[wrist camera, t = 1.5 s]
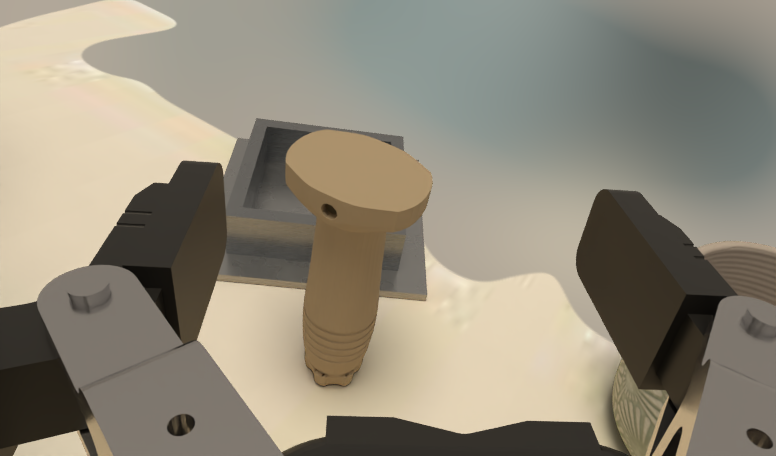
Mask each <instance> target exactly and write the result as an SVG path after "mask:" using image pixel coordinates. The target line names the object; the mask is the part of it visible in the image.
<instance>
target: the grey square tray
mask: <svg viewBox="0 0 776 456" xmlns="http://www.w3.org/2000/svg"><path fill="white" fill-rule="evenodd" d="M326 129H327V130H335V131H343V132H350V133H356V134H361V135H366V136H369V137H372V138H375V139H377V140H380V141H382V142H385V143H387V144H389V145H392V146H394V147H396V148H399V149H401V150H403V151H404V147H403V137H400V136H393V135H384V134H377V133H369V132H361V131H353V130H345V129H337V128H329V127H321V126H313V125H305V124H298V123H290V122H282V121H274V120H265V119H258V118H257V119H256V121H255V125H254V128H253V130H252V133H251V136H250V139H241V138H238V139H237V142H236V144H235V147H234V150H233V153H232V155H231V158H230V161H229V164H228V166H227V169H226V172H225V175H224V192H225V206H226V221H227V242H226V250H225V255H224V259H223V262H222V265H221V268H220V271H219V274H218V277H217V280H219V281H229V282H239V283H250V284H260V285H270V286H280V287H290V288H300V289H306V285H307V280H308V274H309V268H310V262H311V256H312V248H313V241H314V234H315V227H316V216H315V215H314V214H312V213H311V212H310V211H309V210H308V209H307V208H306V207H305V206H304V205H303V204H302V203H301V202H300V201H299V200H298V198H297V197H296V196H295V195H294V194H293V192H292V191H291V190H290V188H289V187H288V186H287V184H286V180H285V169H286V154H287V151H288V150H289V148H290V147H291V146H292V145H293V144H294V143H295V142H296V141H297V140H299V139H300V138H302V137H303V136H305V135H307V134H309V133H312V132H316V131H320V130H326ZM417 161H418V162H419V160H417ZM379 296H382V297H392V298H402V299H412V300H422V301H426V297H427V286H426V270H425V254H424V239H423V223H422V215H421V217H420V218H419V219H418V220H417V221H416V222H415V223H414V224H413V225H411V226H410V227H408V228H406V229H403V230H401V231H397V232H394V233H389V232H386V240H385V248H384V255H383V263H382V271H381V281H380V290H379Z"/></svg>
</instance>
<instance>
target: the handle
mask: <svg viewBox="0 0 776 456" xmlns="http://www.w3.org/2000/svg"><path fill="white" fill-rule="evenodd" d="M285 180H286V184H287V186H288V187H289V188H290V190H291V191H292V192H293V194H294V195H295V196H296V197H297V198H298V200H299V201H300V202H301V203H302V204H303V205H304V206H305V207H306V208H307V209H308V210H309V211H310V212H311V213H312V214H314V215H315V216H316V227H315V234H314V241H313V248H312V256H311V262H310V268H309V274H308V280H307V285H306V291H305V297H304V307H303V338H304V346H305V362H306V366H307V367H308V368H310V369H311V370H312V372H313V374H314V379H315V382H316V383H318V384H319V385H322V386H325V385H328V384H339V385H342V386H345V385H347V384H349V383H350V382H351V380H352V377H353V374H354V372H356V371H358V370H359V368H360V366H361V364H362V361H363V357H364V355H365V353H366V350H367V348H368V345H369V342H370V339H371V336H372V333H373V330H374V326H375V320H376V316H377V310H378V300H379V290H380V281H381V271H382V263H383V255H384V248H385V240H386V232H389V233H394V232H397V231H401V230H403V229H406V228H408V227H410V226H411V225H413V224H414V223H415V222H416V221H417V220H418V219H419V218H420V217H421V215H422V214H423V212H424V210H425V209H426V206H427V203H428V199H429V195H430V192H431V188H432V184H433V183H432V175H431V172H429V171H428V170H427V169H426V168H425V167H424V166H422V165H421V164H420V163H419V162H418V161H417V160H415V159H414V158H413V157H411V156H410V155H409V154H407V153H406V152H404V151H403V150H401V149H399V148H396V147H394V146H392V145H389V144H387V143H385V142H382V141H380V140H377V139H375V138H372V137H369V136H366V135H361V134H356V133H350V132H343V131H335V130H327V129H326V130H320V131H316V132H312V133H309V134H307V135H305V136H303V137H302V138H300V139H299V140H297V141H296V142H295V143H294V144H293V145H292V146H291V147H290V148H289V150H288V151H287V154H286V169H285Z"/></svg>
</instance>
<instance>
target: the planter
mask: <svg viewBox="0 0 776 456" xmlns="http://www.w3.org/2000/svg"><path fill="white" fill-rule="evenodd" d="M698 250H699V251H700V252H701V253H702V254H703V255H704V256H705V257H704V260H708V261H709V262H710V263H711V265H712V266H713V267H714V268H715V269H716V270H717V271H718V273H719V274H720V275H721V276H722V277H723V278H724V280H725V281H726V282H727V283H728V284H729V285H730V286H731V288H732V289H733V290H734V291H735V292H736V293H737V294H738V296H746V297H751V298H755V299H759V300H762V301H765V302H767V303H769V304H772V305H774V306H776V248H774V247H771V246H767V245H762V244H757V243H750V242H740V241H723V242H715V243H710V244H707V245H703V246H701V247H698ZM668 396H669V395H668V394H667V392H666V390H643V389H638V387H637V385H636V383H635V382H634V380H633V378H632V376H631V374H630V372H629V370H628V368H627V366H626V365H625V363H624V361H623V359H622V360H621V362H620V365H619V367H618V370H617V373H616V376H615V380H614V385H613V393H612V401H613V412H614V417H615V421H616V425H617V428H618V430H619V433H620V435H621V438H622V440H623V442H624V444H625V446H626V448H627V449H628V451H629V453H630V454H631V456H645V455H646V452H647V449H648V446H649V444H650V441H651V438H652V435H653V432H654V429H655V426H656V423H657V420H658V417H659V414H660V411H661V409H662V407H663V405H664V403H665V401H666V399H667V397H668Z"/></svg>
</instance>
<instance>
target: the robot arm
mask: <svg viewBox="0 0 776 456" xmlns="http://www.w3.org/2000/svg"><path fill="white" fill-rule="evenodd" d="M226 242H227V221H226V206H225V192H224V177H223V169H222V166H221V164H220V163H211V162H196V161H182V162H181V163H180V165H179V167H178V168H177V170H176V172H175V174H174V175H173V177H172V179H171V181H170V182H169V184H166V183H153V184H151V185H150V186H148V187H147V188H145V189H144V190H142V191H141V192H139V193H137V194H136V195H135V196H134V197H133V199H132V200H131V202H130V203H129V205H128V207H127V208H126V210H125V213H123V214H122V216H121V217H120V219H119V220H118V222H117V226H114V228H113V230H112V231H111V233H110V234H109V236H108V237H107V239H106V240H105V242H104V243H103V245H102V246H101V248H100V250H99V251H98V253H97V254H96V256H95V257H94V259H93V260H92V262H91V263H90V265H89V266H86V267H82V268H78V269H74V270H72V271H69V272H66V273H64V274H62V275H60V276H58V277H57V278H55V279H53V280H52V281H51V282H50V283H48V284H47V285H46V286H45V287H44V288H43V289H42V291H41V292H40V294H39V296H38V299H37V301H36V302H33V303H28V304H23V305H17V306H11V307H4V308H0V456H13V454H14V452H15V450H16V448H17V446H18V445H19V444H23V443H27V442H32V441H36V440H40V439H44V438H48V437H53V436H57V435H61V434H65V433H69V432H73V431H77V433H78V435H79V437H80V440H81V442H82V444H83V447H84V449H85V451H86V453H87V456H629V455H627V454H625V453H622V452H620V451H617V450H614V449H612V448H609V447H606V446H602V445H599V443H598V440H597V438H596V436H595V433H594V431H593V428H592V426H591V423H589V422H550V421H525V422H520V423H516V424H511V425H507V426H502V427H498V428H493V429H489V430H484V431H480V432H475V433H470V434H460V433H455V432H451V431H447V430H443V429H439V428H435V427H431V426H426V425H422V424H418V423H414V422H410V421H406V420H402V419H398V418H394V417H356V416H327V425H326V437H323V438H318V439H314V440H310V441H307V442H304V443H301V444H299V445H296V446H294V447H292V448H290V449H287V450H285V451H283V452H281V451H280V450H279V449H278V447H277V446H276V444H275V443H274V442H273V440H272V439H271V438H270V436H269V435H268V434H267V432H266V431H265V429H264V428H263V427H262V425H261V424H260V423H259V421H258V420H257V419H256V417H255V416H254V414H253V413H252V412H251V410H250V409H249V408H248V406H247V405H246V404H245V402H244V401H243V399H242V398H241V397H240V395H239V394H238V393H237V391H236V390H235V389H234V387H233V386H232V384H231V383H230V382H229V380H228V379H227V378H226V376H225V375H224V374H223V372H222V371H221V369H220V368H219V367H218V365H217V364H216V363H215V361H214V360H213V359H212V357H211V356H210V354H209V353H208V352H207V350H206V349H205V348H204V347H203V345H202V344H201V343H200V342H198V341H197V338H198V335H199V332H200V329H201V325H202V322H203V319H204V316H205V313H206V310H207V307H208V304H209V301H210V298H211V295H212V292H213V289H214V286H215V283H216V280H217V277H218V274H219V271H220V268H221V265H222V262H223V259H224V255H225V250H226ZM693 245H694V244H693V243H692V241H691V240H690V239H689V238H688V237H687V236H686V235H685V234H684V232H683V231H682V230H681V229H680V228H679V227H677V226H676V225H674V224H672V223H671V222H670V221H668V220H667V219H665V218H664V217H662V216H661V215H658V213H657V212H656V211H655V210H654V209H653V207H652V206H651V205H650V204H649V203H648V201H647V200H646V199H645V198H644V197H643V195H642V194H641V193H639V192H636V191H623V190H608V189H603V190H601V191H600V192H599V193H598V194H597V196H596V198H595V200H594V203H593V206H592V208H591V211H590V214H589V217H588V220H587V223H586V226H585V229H584V231H583V234H582V237H581V240H580V243H579V246H578V249H577V256H576V266H577V272H578V275H579V277H580V279H581V281H582V283H583V285H584V287H585V289H586V291H587V293H588V294H589V296H590V298H591V300H592V302H593V303H594V305H595V308H596V310H597V311H598V313H599V315H600V317H601V319H602V321H603V323H604V325H605V327H606V329H607V330H608V332H609V334H610V336H611V338H612V340H613V342H614V344H615V346H616V347H617V349H618V351H619V353H620V355H621V357H622V359H623V361H624V363H625V365H626V366H627V368H628V370H629V372H630V374H631V376H632V378H633V380H634V382H635V383H636V385H637V387H638V389H643V390H666V392H667V394H668V395H669V396H668V397H667V399H666V401H665V403H664V405H663V407H662V409H661V411H660V414H659V417H658V420H657V423H656V426H655V429H654V432H653V435H652V438H651V441H650V444H649V446H648V449H647V452H646V455H645V456H776V306H774V305H772V304H769V303H767V302H765V301H762V300H759V299H755V298H751V297H746V296H738V294H737V293H736V292H735V291H734V290H733V289H732V288H731V286H730V285H729V284H728V283H727V282H726V281H725V280H724V278H723V277H722V276H721V275H720V274H719V273H718V271H717V270H716V269H715V268H714V267H713V266H712V265H711V263H710V262H709V261H708V260H704V257H705V256H704V255H703V254H702V253H701V252H700V251H699V250H698V248H697V247H693Z"/></svg>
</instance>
